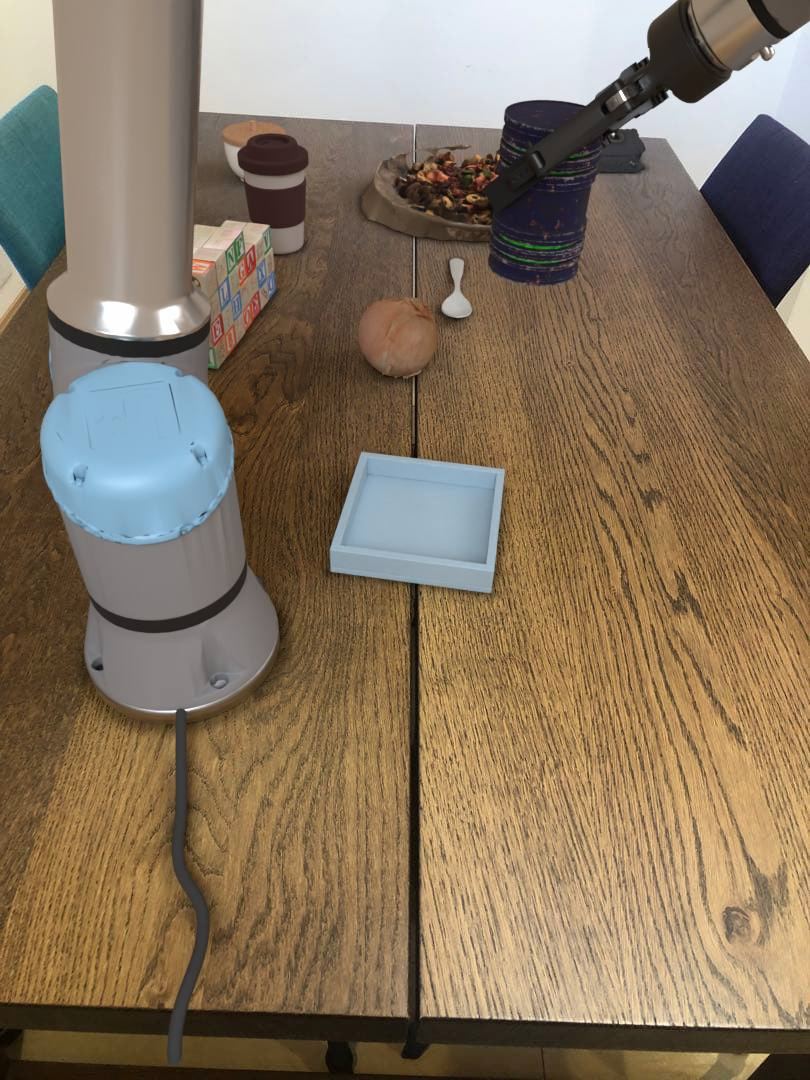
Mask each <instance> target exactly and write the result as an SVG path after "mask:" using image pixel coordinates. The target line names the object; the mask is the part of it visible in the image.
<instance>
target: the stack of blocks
mask: <svg viewBox="0 0 810 1080" xmlns="http://www.w3.org/2000/svg"><path fill="white" fill-rule="evenodd" d="M192 281H193V282H194V283H195V284H196V285H197V286H198V287H199V288H200V289H201V290H202V291H203V293H204V294H205V295H206V296H207V298H208V299H209V301H210V304H211V322H210V341H209V358H208V369H213V370H218V369H220V367H221V365H222V364H223V363H224V362H225V360H226V359H227V357H229V356H230V354H231V353H232V352H233V351H234V349H235V348H236V346H237V344H239V342H240V341H241V340H242V339H243V337H244V336H245V334H246V331H247V330H248V329H249V327H250V326H251V325H252V323H253V321H254V320H255V318H257V316H258V315H259V313H260V312H261V311H262V310H263V309H264V308H265V306H266V305H267V303H268V302H269V301H270V299H271V298H272V297H273V295H274V294H275V293H276V291H277V285H276V284H277V283H276V271H275V259H274V254H273V248H272V245H271V233H270V225H265V224H257V223H252V222H244V221H237V220H230V219H226V220H225V221H224V222H223V223H222V224H221V225H220V226H211V225H205V224H197V223H196V224H194V244H193V267H192Z"/></svg>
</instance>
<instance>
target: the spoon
mask: <svg viewBox="0 0 810 1080" xmlns="http://www.w3.org/2000/svg"><path fill="white" fill-rule="evenodd" d="M464 266H465V261H464V260H463V259H461V258H459V257H454V258H451V259H450V260H449V268H450V275H451V277H452V280H453V283H454V290H453V292H452V293H451V294H449V296H447V298H446V299H445V300H443V302H442V304H441V307H440V308H441V309H440V310H441V312H442V313H443V314H444V315H445V316H448V317H451V318H456V319H459V318H461V319H462V318H467V317H469V316H470V315H471V314H472V312H473V308H472V304H471V302H469V300H468V299H467V298H466V297H465V296H464V295H463V293H462V291H461V281H462V277H463V274H464V268H465V267H464Z"/></svg>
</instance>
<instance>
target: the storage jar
mask: <svg viewBox="0 0 810 1080" xmlns="http://www.w3.org/2000/svg"><path fill="white" fill-rule="evenodd" d="M585 106H586V105H585V104H580V103H576V102H571V101H564V100H556V99H555V100H554V99H531V100H523V101H522V100H521V101H517V102H513V103H512V104H509V105H508V106H506V108H504V114H503V123H504V124H503V126H502V132H501V138H500V141H499V142H500V143H499V148H498V149H499V152H500V157H499V161H498V172H499V174H501V173H503V172H504V171H505V170H506V169H507V168H509V167H510V166H511V165H512V164H514V163H515V162H516V161H517V160H519V159H520V158H521V157H522V156H524V155H525V154H524V153H525V151H527V150H526V148H525V146H524V144H526V143H527V142H528V141H530V143H531V144H532V146H534V145H535V144H537V143H538V142H539V141H541V140H542V139H543V138H545V137H546V136H547V135H548V134H550V133H551V132H552V131H554V130H555V129H556V128H558V127H559V126H560V125H561V124H563V123H564V122H565V121H567V120H568V119H569V118H571V117H572V116H573V115H575V114H576V113H577V112H578V111H580V110H581V109H582V108H584V107H585ZM602 141H603V134H601V135H600V136H598V137H597V138H595V139H594V140H593V141H591V142H590V143H588V144H587V145H586V146H584V147H583V148H581V149H580V150H579V151H577V152H576V153H575V154H573V155H572V156H570V157H569V158H568V159H566V160H565V161H563V162H562V163H561V164H559V165H558V166H556V167H555V168H554V169H552V170H551V173H549V175H548V176H546V177H545V178H544V179H542V180H541V181H540V182H538V183H537V184H536V185H534V186H533V187H532V188H531V189H529V190H528V191H527V192H525V193H524V194H523V195H521V196H520V197H519V198H517V199H516V200H515V201H513V202H512V203H511V204H509V205H508V206H507V207H506V208H504V209H503V210H502V211H500V212H499V213H496V211H495V210H494V212H493V218H492V225H491V229H490V241H489V251H490V252H489V254H488V259H487V266H488V269H490V271H491V272H492V273H494V274H495V275H496V276H498V277H500V278H501V279H504V280H505V281H508V282H511V283H515V284H519V285H523V286H529V287H530V286H531V287H552V286H553V287H554V286H559V285H562V284H565V283H568V282H569V281H571V280H573V279H574V278H576V276H577V274H578V272H579V261H580V259H581V256H582V252H583V250H584V246H585V241H586V231H587V225H588V218H587V212H588V206H589V201H590V198H591V192H592V185H594V183H595V181H596V177H597V175H598V170H597V168H598V164H599V162H600V157H601V152H602V147H601V146H602Z"/></svg>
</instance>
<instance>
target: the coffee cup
mask: <svg viewBox="0 0 810 1080" xmlns="http://www.w3.org/2000/svg"><path fill="white" fill-rule="evenodd" d="M237 158H238V165H239V167H240V168H241V169H243V171H244V182H243V186H244V192H245V198H246V204H247V211H248V217H249V220H250V221H251V223H257V224H265V225H270V233H271V245H272V248H273V255H287V254H292V253H295V252H297V251H299V250H301V248H302V247H303V245H304V241H305V240H304V239H305V235H304V234H305V219H306V206H307V204H306V203H307V201H306V200H307V198H306V197H307V179H306V176H305V169H306V168H308V166H309V163H310V162H309V161H310V159H309V151H308V150H307V148H305V147H303V145H299V143H298V141H297V139H295V137H293V136H291V135H288V134H286V135H285V134H277V133H266V134H259V135H256V136H253V137H251V138H250V139H249V140H248V141H247V145H246V146H244V147H242V148H241V149H240V150H239V151H238V153H237Z"/></svg>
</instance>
